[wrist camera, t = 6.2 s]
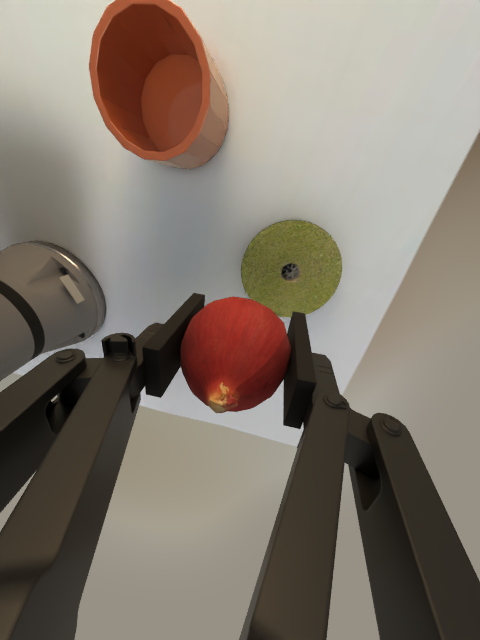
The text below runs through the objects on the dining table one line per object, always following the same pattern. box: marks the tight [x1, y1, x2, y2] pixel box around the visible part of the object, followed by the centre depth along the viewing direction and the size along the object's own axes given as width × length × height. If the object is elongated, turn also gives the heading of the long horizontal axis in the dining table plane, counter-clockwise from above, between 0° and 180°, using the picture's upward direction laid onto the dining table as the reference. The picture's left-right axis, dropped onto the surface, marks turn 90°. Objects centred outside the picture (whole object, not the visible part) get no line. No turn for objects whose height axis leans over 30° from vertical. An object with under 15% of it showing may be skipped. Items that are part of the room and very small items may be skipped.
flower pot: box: [89, 0, 229, 169], centre depth 21 cm, size 9×9×7 cm
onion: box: [180, 297, 291, 413], centre depth 13 cm, size 6×6×8 cm
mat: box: [241, 220, 342, 317], centre depth 28 cm, size 11×11×2 cm
